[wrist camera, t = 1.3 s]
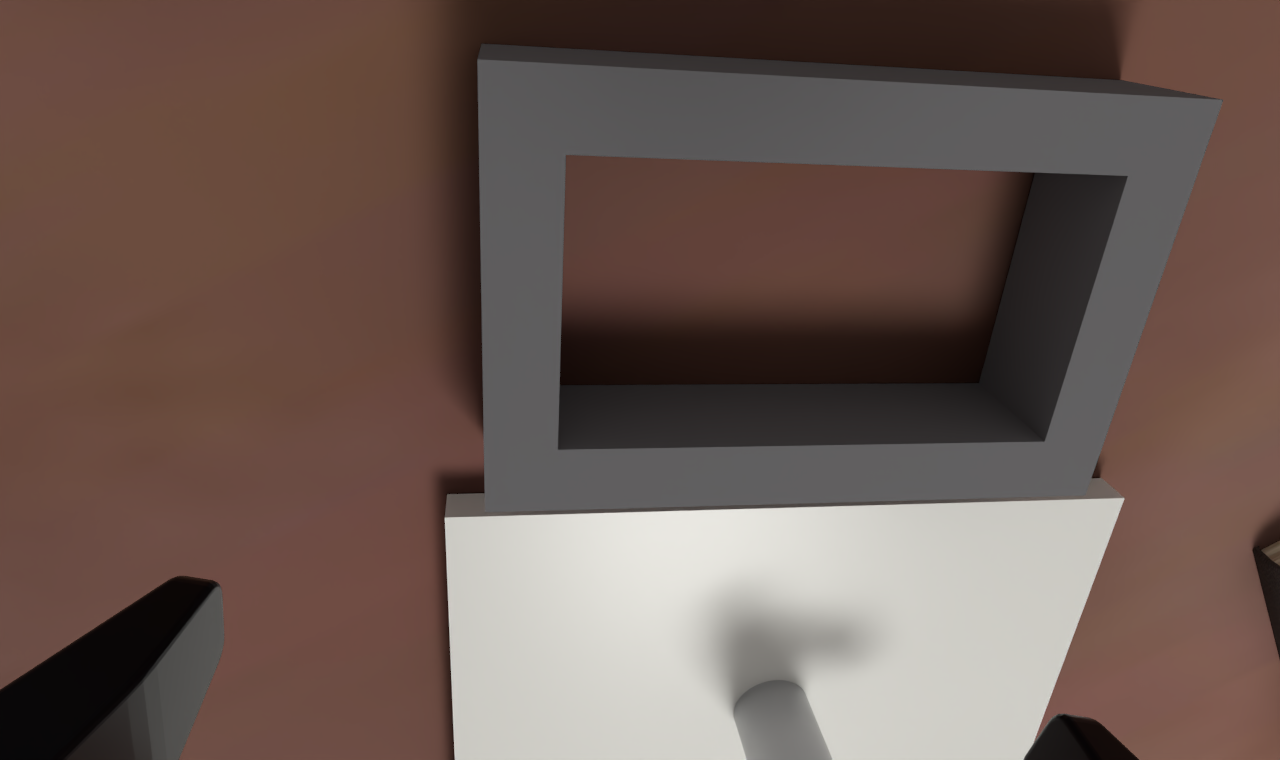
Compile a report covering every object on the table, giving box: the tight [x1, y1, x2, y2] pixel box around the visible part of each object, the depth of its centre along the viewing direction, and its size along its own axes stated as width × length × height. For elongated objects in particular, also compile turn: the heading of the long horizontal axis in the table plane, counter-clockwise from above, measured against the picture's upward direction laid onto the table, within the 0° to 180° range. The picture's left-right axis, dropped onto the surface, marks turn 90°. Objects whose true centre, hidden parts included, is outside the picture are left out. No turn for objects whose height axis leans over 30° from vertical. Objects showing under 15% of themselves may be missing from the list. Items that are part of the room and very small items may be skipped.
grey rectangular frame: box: [477, 44, 1223, 512], centre depth 18 cm, size 14×9×3 cm, turn 86°
